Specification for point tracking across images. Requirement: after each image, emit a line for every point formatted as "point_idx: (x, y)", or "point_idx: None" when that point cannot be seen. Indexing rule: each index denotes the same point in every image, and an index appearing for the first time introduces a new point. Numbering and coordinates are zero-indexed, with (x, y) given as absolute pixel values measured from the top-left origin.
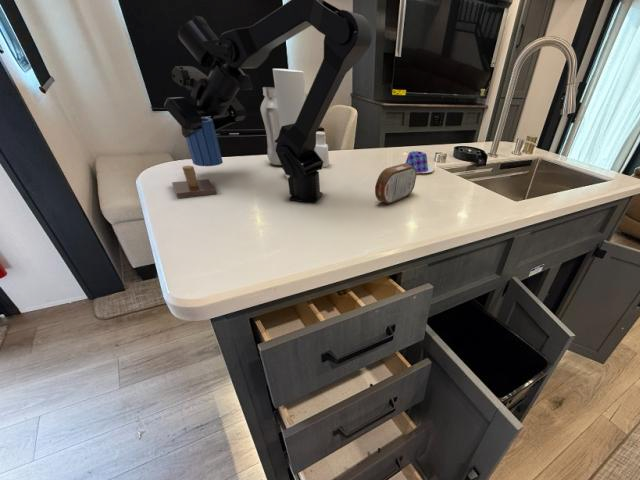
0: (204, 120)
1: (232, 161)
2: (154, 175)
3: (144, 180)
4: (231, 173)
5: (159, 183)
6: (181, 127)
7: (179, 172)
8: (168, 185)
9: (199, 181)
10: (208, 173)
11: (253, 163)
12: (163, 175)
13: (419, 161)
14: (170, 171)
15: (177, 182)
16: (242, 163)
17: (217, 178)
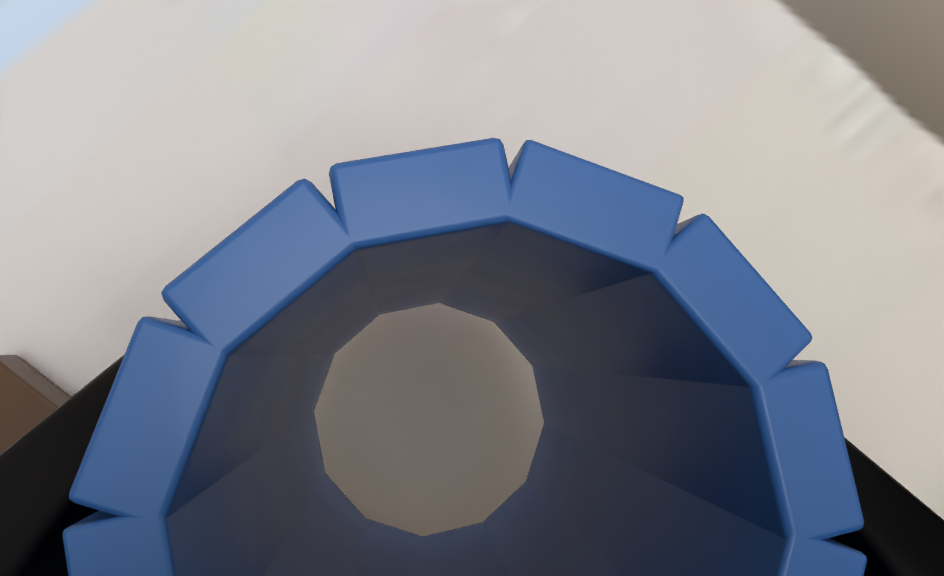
0: (744, 474)
1: (869, 249)
2: (199, 2)
3: (53, 34)
4: None
5: (48, 186)
6: (32, 430)
7: (370, 106)
8: (41, 283)
9: None
10: (477, 321)
11: (931, 442)
12: (236, 60)
13: None
14: (353, 28)
15: (10, 399)
16: (873, 361)
17: (404, 484)
